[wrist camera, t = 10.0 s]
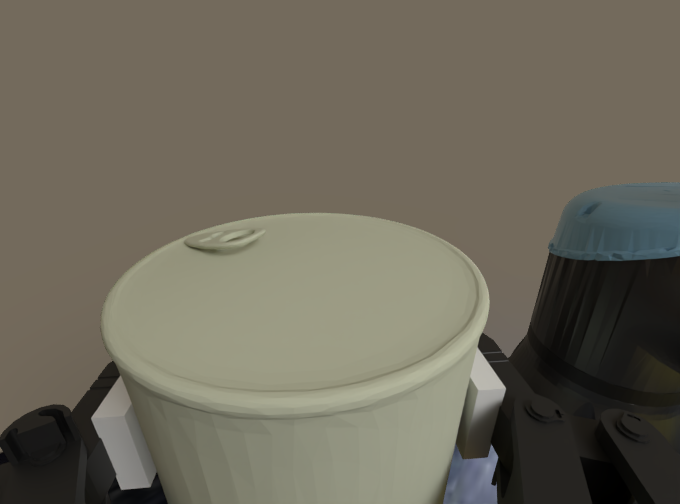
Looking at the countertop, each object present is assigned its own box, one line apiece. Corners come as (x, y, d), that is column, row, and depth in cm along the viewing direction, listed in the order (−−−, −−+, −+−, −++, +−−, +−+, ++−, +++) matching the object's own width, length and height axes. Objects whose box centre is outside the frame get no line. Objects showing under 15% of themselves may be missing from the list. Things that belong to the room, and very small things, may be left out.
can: (285, 397, 19) (266, 189, 14) (452, 466, 16) (503, 219, 11) (134, 592, 12) (-16, 289, 7) (392, 815, 8) (476, 511, 3)
